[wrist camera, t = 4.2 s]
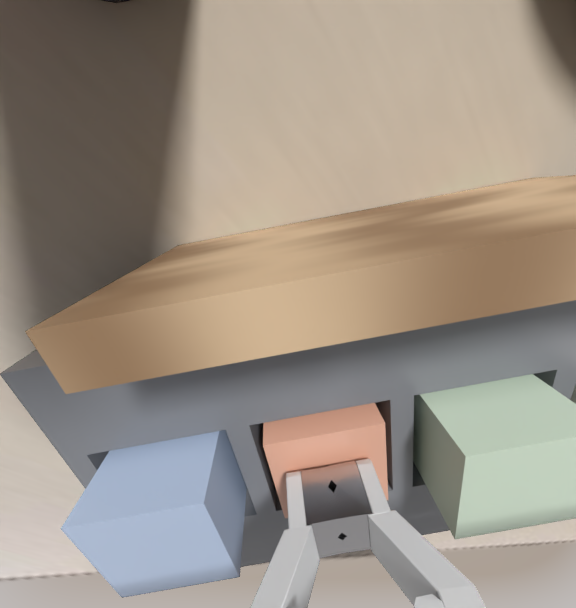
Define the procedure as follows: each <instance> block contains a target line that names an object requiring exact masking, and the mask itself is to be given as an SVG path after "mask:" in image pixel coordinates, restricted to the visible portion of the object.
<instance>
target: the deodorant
mask: <svg viewBox="0 0 576 608" xmlns="http://www.w3.org/2000/svg"><path fill="white" fill-rule="evenodd" d="M103 1H109V2H115V3H117V2H123V1H129V0H103Z"/></svg>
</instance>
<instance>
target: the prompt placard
mask: <svg viewBox="0 0 576 608" xmlns="http://www.w3.org/2000/svg"><path fill="white" fill-rule="evenodd" d="M574 300H576V175H573V176H556V177H539V178H530V179H525V180H519V181H514V182H509V183H504V184H498V185H493V186H488V187H483V188H477V189H472V190H467V191H462V192H456V193H451V194H446V195H441V196H435V197H430V198H425V199H420V200H414V201H409V202H404V203H398V204H393V205H388V206H383V207H377V208H372V209H367V210H362V211H356V212H351V213H346V214H341V215H335V216H330V217H325V218H320V219H314V220H309V221H304V222H299V223H293V224H288V225H283V226H278V227H272V228H267V229H262V230H256V231H251V232H246V233H241V234H235V235H230V236H225V237H220V238H214V239H209V240H204V241H199V242H193V243H188V244H183V245H178V246H176V247H174V248H172V249H171V250H169V251H167V252H165V253H164V254H162V255H160V256H158V257H156V258H155V259H153V260H151V261H149V262H148V263H146V264H144V265H142V266H141V267H139V268H137V269H135V270H133V271H132V272H130V273H128V274H126V275H125V276H123V277H121V278H119V279H117V280H116V281H114V282H112V283H110V284H109V285H107V286H105V287H103V288H101V289H100V290H98V291H96V292H94V293H93V294H91V295H89V296H87V297H85V298H84V299H82V300H80V301H78V302H77V303H75V304H73V305H71V306H69V307H68V308H66V309H64V310H62V311H61V312H59V313H57V314H55V315H53V316H52V317H50V318H48V319H46V320H45V321H43V322H41V323H39V324H37V325H36V326H34V327H32V328H30V329H29V330H27V331H25V332H26V334H27V335H28V337H29V338H30V340H31V341H32V343H33V344H34V346H35V347H36V349H37V351H38V352H39V354H40V355H41V357H42V358H43V360H44V361H45V363H46V364H47V366H48V367H49V369H50V371H51V372H52V374H53V375H54V377H55V378H56V380H57V381H58V383H59V384H60V386H61V388H62V389H63V391H64V392H65V394H70V393H75V392H80V391H86V390H91V389H97V388H102V387H107V386H113V385H118V384H124V383H129V382H135V381H140V380H145V379H151V378H156V377H162V376H167V375H173V374H178V373H183V372H189V371H194V370H200V369H205V368H210V367H216V366H221V365H227V364H232V363H238V362H243V361H248V360H254V359H259V358H265V357H270V356H276V355H281V354H286V353H292V352H297V351H303V350H308V349H313V348H319V347H324V346H330V345H335V344H341V343H346V342H351V341H357V340H362V339H368V338H373V337H379V336H384V335H389V334H395V333H400V332H406V331H411V330H417V329H422V328H427V327H433V326H438V325H444V324H449V323H454V322H460V321H465V320H471V319H476V318H482V317H487V316H492V315H498V314H503V313H509V312H514V311H520V310H525V309H530V308H536V307H541V306H547V305H552V304H557V303H563V302H568V301H574Z"/></svg>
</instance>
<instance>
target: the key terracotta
mask: <svg viewBox="0 0 576 608" xmlns="http://www.w3.org/2000/svg"><path fill="white" fill-rule="evenodd" d="M263 448H264V451H265V454H266V458H267V461H268V464H269V468H270V471H271V474H272V477H273V481H274V484H275V487H276V491H277V494H278V497H279V501H280V504H281V507H282V510H283V514H284V517H285V518H288V507H287V489H286V474H287V473H290V472H296V471H303V470H309V469H315V468H320V467H326V466H330V465H335V464H340V463H345V462H350V461H357V460H362V459H367V458H369V459H370V460H371V461H372V463H373V466H374V468H375V471H376V474H377V476H378V479H379V481H380V484H381V487H382V489H383V492H384V495H385V497H386V500H388V479H387V455H386V430H385V422H384V420H383V418H382V416H381V414H380V412H379V410H378V408H377V406H376V404H375V403H370V404H364V405H359V406H353V407H348V408H342V409H337V410H331V411H326V412H320V413H315V414H309V415H304V416H298V417H293V418H287V419H282V420H276V421H271V422H265V423H264V424H263Z"/></svg>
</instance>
